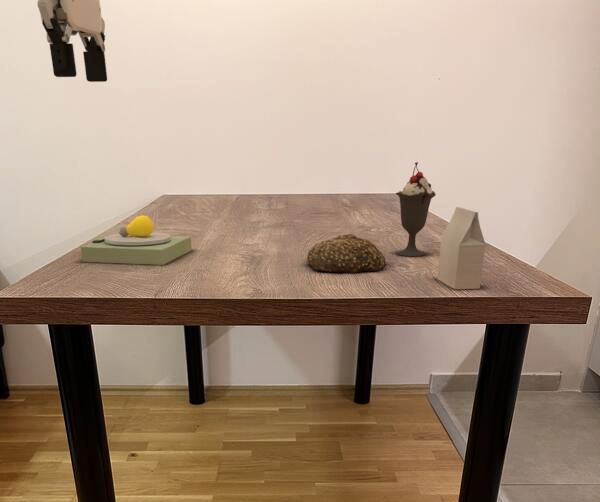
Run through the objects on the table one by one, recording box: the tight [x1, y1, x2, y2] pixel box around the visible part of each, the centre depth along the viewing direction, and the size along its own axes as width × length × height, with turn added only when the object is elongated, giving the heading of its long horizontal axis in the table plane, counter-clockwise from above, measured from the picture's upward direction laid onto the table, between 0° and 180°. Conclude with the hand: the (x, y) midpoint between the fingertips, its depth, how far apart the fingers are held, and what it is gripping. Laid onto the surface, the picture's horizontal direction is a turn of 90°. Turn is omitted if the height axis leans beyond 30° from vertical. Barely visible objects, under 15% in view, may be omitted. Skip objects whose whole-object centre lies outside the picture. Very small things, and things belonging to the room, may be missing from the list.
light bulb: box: [118, 215, 155, 237], centre depth 107 cm, size 3×6×4 cm, turn 90°
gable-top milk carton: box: [436, 206, 486, 290], centre depth 88 cm, size 4×7×10 cm, turn 9°
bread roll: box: [306, 233, 387, 274], centre depth 101 cm, size 13×12×5 cm
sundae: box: [395, 161, 437, 257], centre depth 109 cm, size 7×7×15 cm
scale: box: [80, 231, 193, 266], centre depth 109 cm, size 14×14×3 cm
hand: (82, 79), depth 94 cm, fingers open, 9 cm apart
